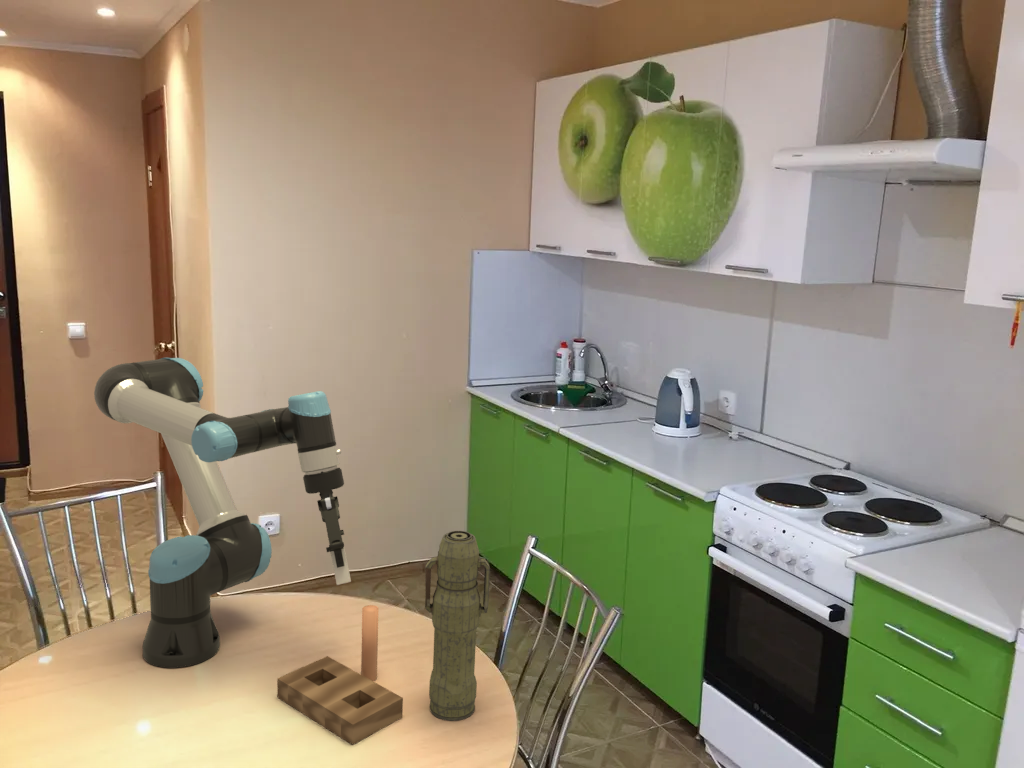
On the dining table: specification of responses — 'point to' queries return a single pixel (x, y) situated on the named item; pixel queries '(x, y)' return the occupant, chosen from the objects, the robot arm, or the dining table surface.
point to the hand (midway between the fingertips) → (342, 575)
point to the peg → (369, 642)
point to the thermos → (455, 624)
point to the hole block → (340, 699)
